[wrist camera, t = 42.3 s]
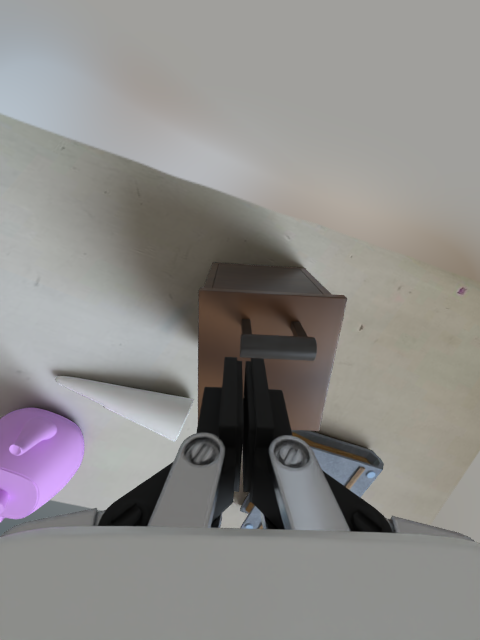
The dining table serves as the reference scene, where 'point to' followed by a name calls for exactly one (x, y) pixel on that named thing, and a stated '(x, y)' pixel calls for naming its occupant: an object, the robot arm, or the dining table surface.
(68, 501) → the dining table surface
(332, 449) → the book
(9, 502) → the teapot
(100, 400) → the long cone
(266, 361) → the lid
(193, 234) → the dining table surface
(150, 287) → the dining table surface
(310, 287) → the chest
